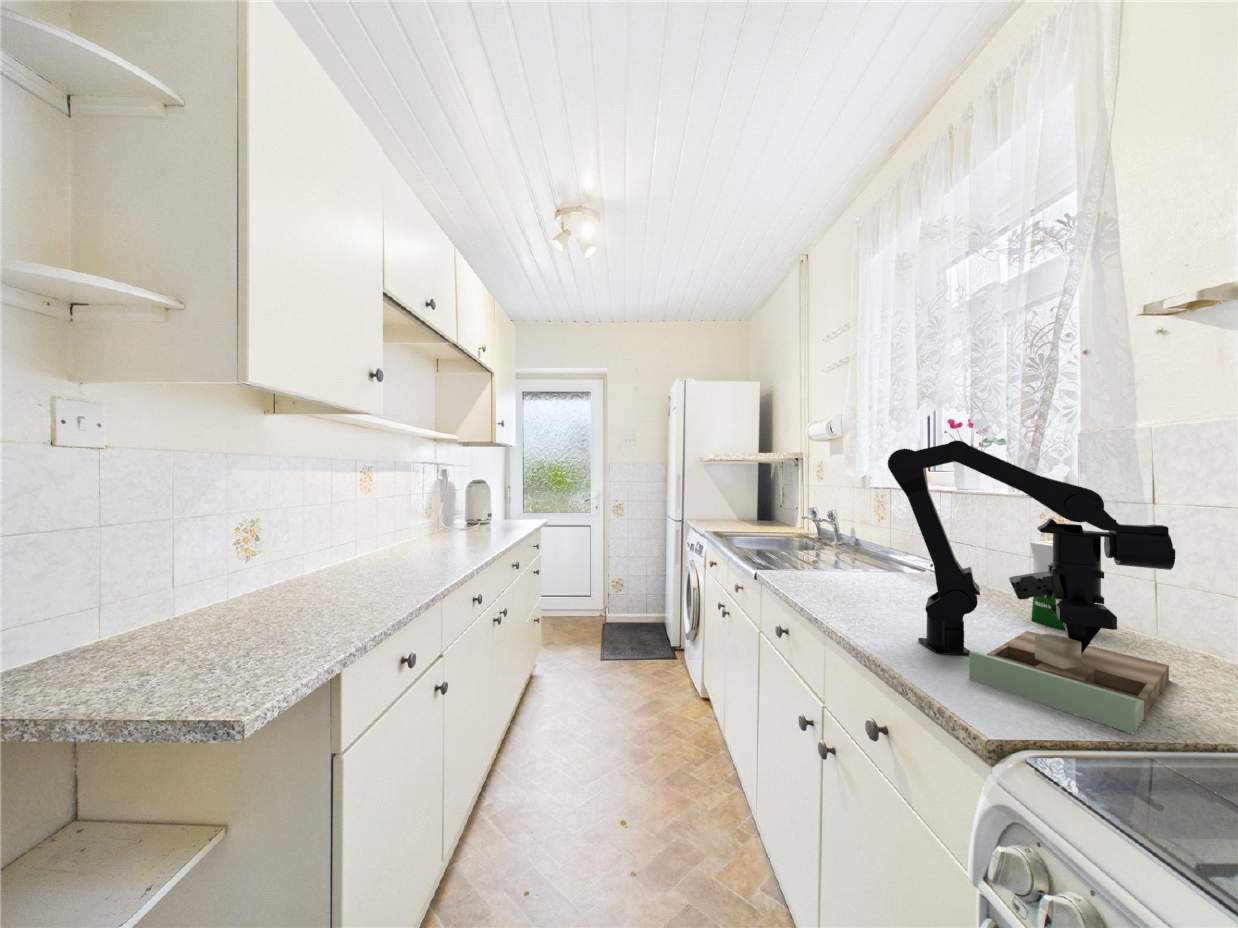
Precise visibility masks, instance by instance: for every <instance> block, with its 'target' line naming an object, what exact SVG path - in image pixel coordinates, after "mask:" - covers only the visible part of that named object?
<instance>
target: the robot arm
mask: <svg viewBox="0 0 1238 928" xmlns="http://www.w3.org/2000/svg"><path fill="white" fill-rule="evenodd" d="M954 462H955V463H958V464H960V465H963V466H965V467H967V468H969V469H972V470H974V471H976V472H978V473H979V474H980V473H981V474H983V475H985V476H987V477H989V478H991V479H994V480H995V481H998V482H1001V483H1002V484H1004V485H1007V486H1009V487H1012V488H1013V489H1016V490H1018V491H1020V492H1023V494H1026V495H1027V496H1029V497H1030V498H1032V499H1034V501H1037V502H1038V503H1039V504H1041V505H1043V506H1045V507H1046V508H1047V509H1049V510H1050V511H1052V512H1053V513H1055V514H1057V515H1058V516H1060V517H1062V518H1063V519H1065V520H1067V521H1071V522H1074V523H1073V524H1072V523H1058V522H1057V521H1055V520H1054V519H1053V518H1048V519H1047V521H1046V522H1043V524H1040V525H1039V526H1037V530H1038V531H1039V532H1040V533H1043V534H1052V541H1053V563H1051V565H1048V571H1047V572H1039V573H1033V572H1031V573H1027V574H1021V575H1014V576H1011V577H1009V578H1008V579H1009V582H1010V584H1011V586H1012V587H1011V588H1012V589H1013V591H1014V594H1015V595H1016V598H1017V600H1028V599H1030V598H1033V597H1036V596H1045V598H1047V599H1050V598H1051V596H1052V597H1053V598H1055V599H1056V605H1049V606H1050V607H1051V609H1052V610H1053V612H1054V614H1055V616H1057V617H1058V619H1059V621H1062V622H1063V624H1064V627H1065V630H1064V631H1065V634H1066V638H1069V639H1073V640H1076V641H1079V642H1081V655H1082V653H1083V652H1084V650H1085V649H1086V648H1087V646H1090V643H1091V642H1092V640H1093V639H1094V638H1095V637H1096V635H1097V634H1098V632H1099V631H1100V630H1101V629H1104V630H1112V631H1116V630H1118V617H1117V615H1116V614H1114V613H1113V612H1112V611H1111V610H1110V609H1109V608H1107V607H1106V605H1105V597H1104V596H1103V595H1102V579H1105V572H1104V571H1103V570H1102V538H1104V539H1103V549H1104V554H1105V558H1107V559H1113V561H1114V563H1115V565H1116V566H1123V567H1135V568H1144V569H1145V568H1146V569H1157V570H1166V571H1171V570H1173V568H1174V566H1175V562H1176V549H1175V548H1173V546H1174V545H1173V541H1172V538H1171V536H1170V534H1169V533H1170V532H1169V530H1170V528H1169V527H1168V526H1166V525H1162V524H1144V525H1143V524H1142V525H1141V524H1126V523H1125V524H1124V523H1119V522H1117V519H1115V518H1114V517H1112V516H1111V514H1109V513H1108V512H1107V511H1106V510H1105V502H1104V499H1103V497H1102V496H1101V495H1100V494H1099V493H1098V492H1095V491H1094V490H1092V489H1089V488H1086V487H1082V486H1080V485H1075V484H1071V483H1067V482H1064V481H1061V480H1056V479H1052V478H1049V477H1046V476H1042V475H1039V474H1037V473H1035V472H1031V471H1029V470H1027V469H1024V468H1022V467H1021V466H1020V467H1019V466H1017V465H1015V464H1014V463H1013V464H1012V463H1011V462H1008V461H1006V460H1003V459H1001V458H999V457H997V456H995V455H993V454H990V453H987V452H985V451H982V450H980V449H977V448H976V447H973V446H970V445H969V444H968V443H967V442H964V441H962V440H952V441H950V442H948V443H944V444H940V445H936V446H931V447H927V448H923V449H918V450H913V449H910V448H899V449H897V450H895V451H893V452H892V453H891V454H890V456H889V457H888V460H887V467H888V468H887V469H888V470H889V471H890V473H891V474H892V476H893V478H894V480H895V481H896V483H897V485H898V486H899V488H900V489H901V490H902V491H903V492H904V495H906V497H907V499H908V502H909V505H910V507H911V510H912V513H913V514H914V517H915V521H916V523H917V525H918V527H919V530H920V534H921V536H922V538H923V541H924V543H925V545H926V548H927V551H928V554H929V557H930V559H931V561H932V564H933V568H934V576H935V583H936V589H937V591H936V592H935V593H933V594H931V595H930V596H928V597H927V600H926V601H927V602H926V604H925V607H924V610H925V612H926V637H918V638H917V640H918V642H920V643H921V644H923V645H924V646H925V647H927V648H928V649H929V650H931V651H932V652H934V653H936V654H942V655H943V654H944V655H945V654H947V655H961V656H962V655H966V656H969V653H970V651H971V650H969V649H968V648H966V647H965V621H964V617H965V615H967V614H971V613H972V612H974V611H975V609H976V608H977V606H978V603H979V602H978V596H981V591H980V590H981V589H980V586H979V585H978V583H977V582H976V581H975V579H974V576H973V570H972V567H971V566H968V567H965V568H963V566H961V564H960V563H959V561H958V559H957V557H956V556H955V553H954V551H953V549H952V546H951V544H950V540H949V538H948V536H947V533H946V531H945V529H944V526H943V523H942V521H941V518H940V516H939V513H938V511H937V509H936V506H935V502H934V500H933V498H932V496H931V494H930V491H929V482H928V476H927V475H928V474H927V469H928V468H932V467H937V466H941V465H945V464H950V463H954ZM1075 523H1086V524H1088V525H1091V526H1093V527H1096V528H1097V529H1100V530H1102V531H1094V530H1084V527H1083V526H1082V524H1075Z"/></svg>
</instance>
